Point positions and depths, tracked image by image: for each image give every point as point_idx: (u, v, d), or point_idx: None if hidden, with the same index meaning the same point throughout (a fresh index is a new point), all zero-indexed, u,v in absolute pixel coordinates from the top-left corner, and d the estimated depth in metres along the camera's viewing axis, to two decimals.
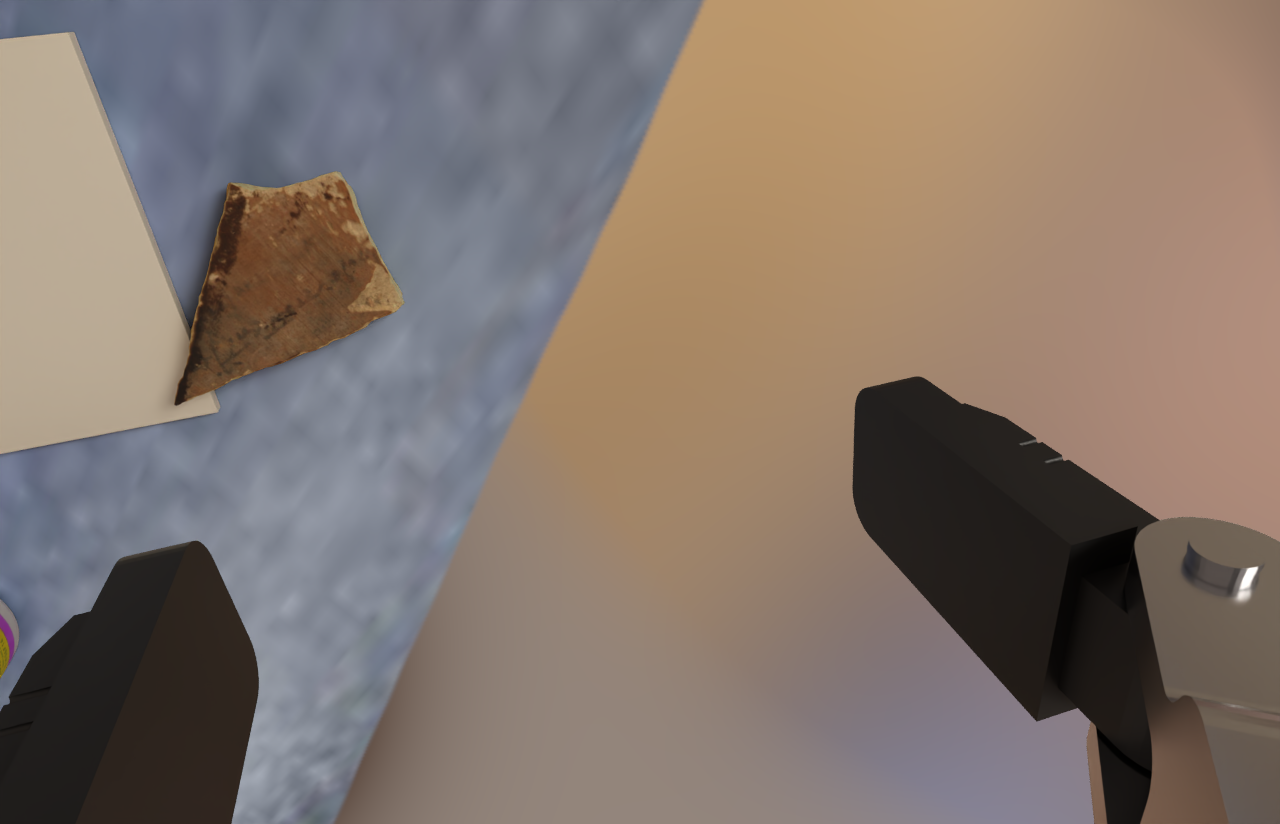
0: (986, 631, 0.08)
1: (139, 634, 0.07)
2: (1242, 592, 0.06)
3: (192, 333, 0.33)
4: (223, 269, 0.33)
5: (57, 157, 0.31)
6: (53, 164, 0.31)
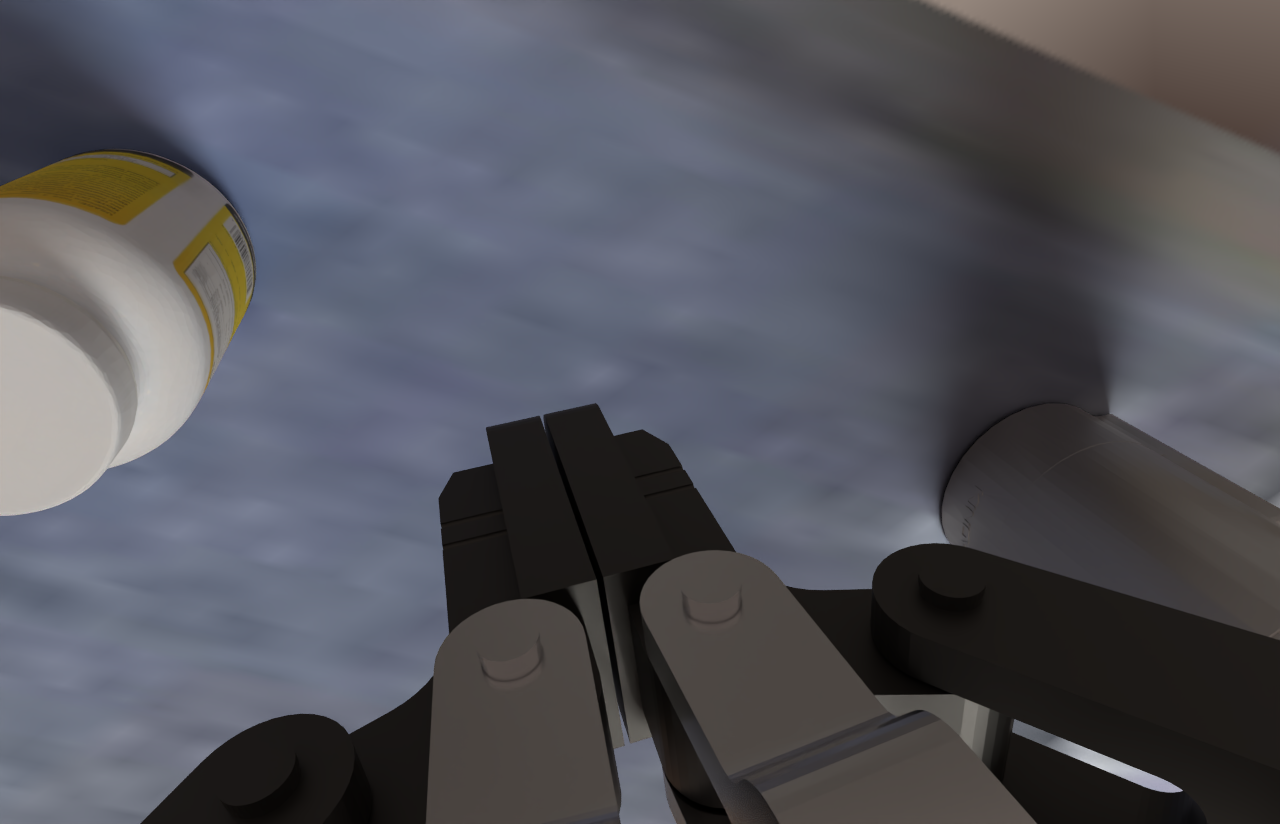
0: None
1: (547, 472, 0.09)
2: (705, 626, 0.06)
3: None
4: None
5: None
6: None
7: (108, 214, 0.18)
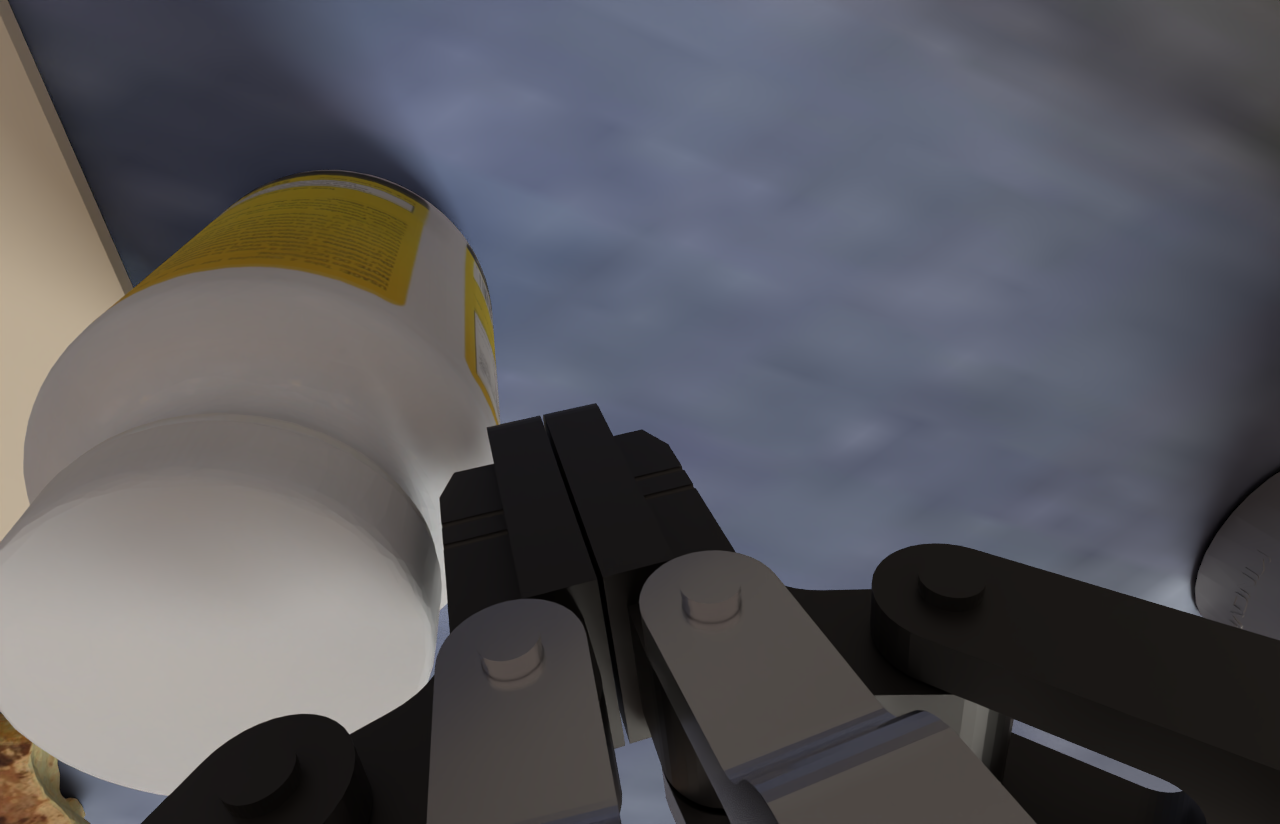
0: None
1: (548, 472, 0.09)
2: (704, 626, 0.06)
3: None
4: None
5: (15, 519, 0.18)
6: None
7: (380, 288, 0.11)
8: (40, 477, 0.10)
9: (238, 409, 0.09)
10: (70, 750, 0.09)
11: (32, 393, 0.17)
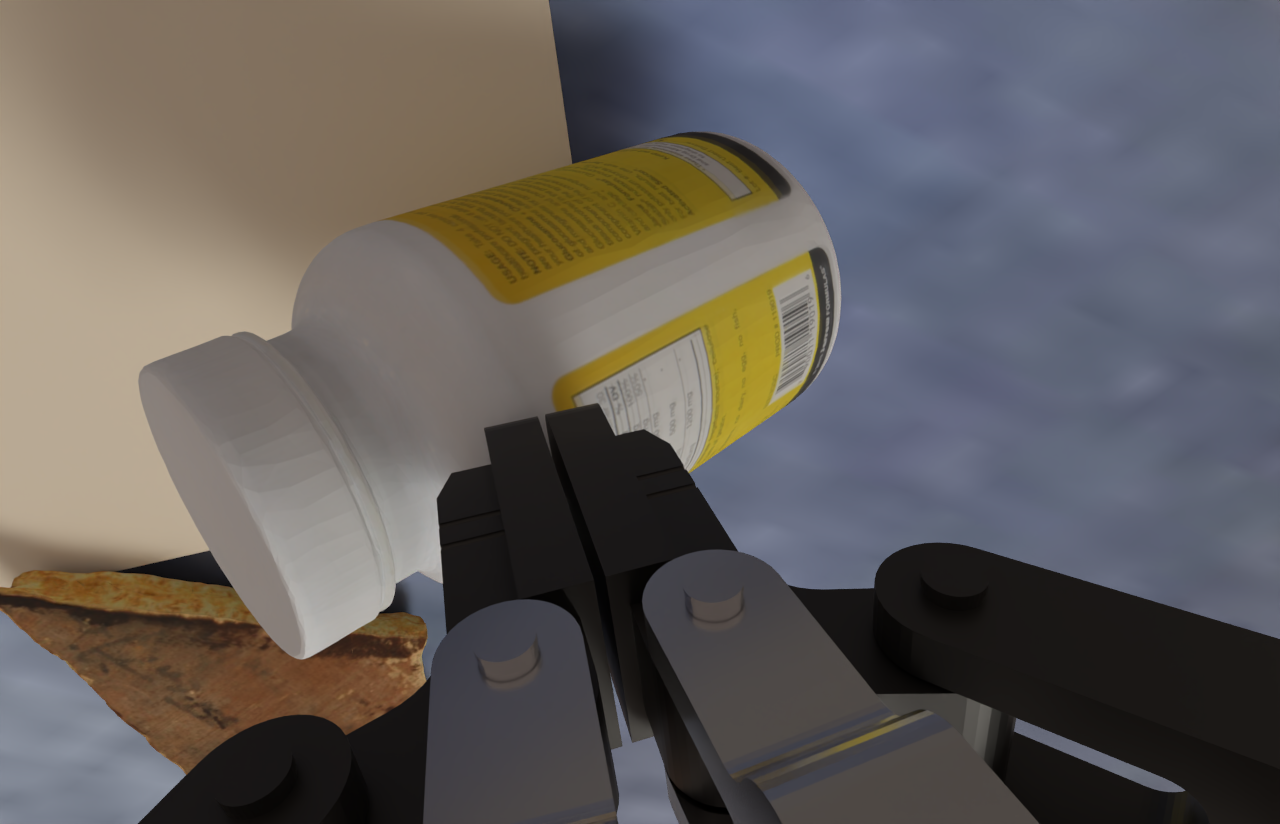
0: (608, 654, 0.09)
1: (545, 472, 0.09)
2: (708, 625, 0.06)
3: (156, 612, 0.19)
4: None
5: None
6: None
7: (506, 279, 0.11)
8: None
9: (315, 345, 0.11)
10: (195, 522, 0.13)
11: None
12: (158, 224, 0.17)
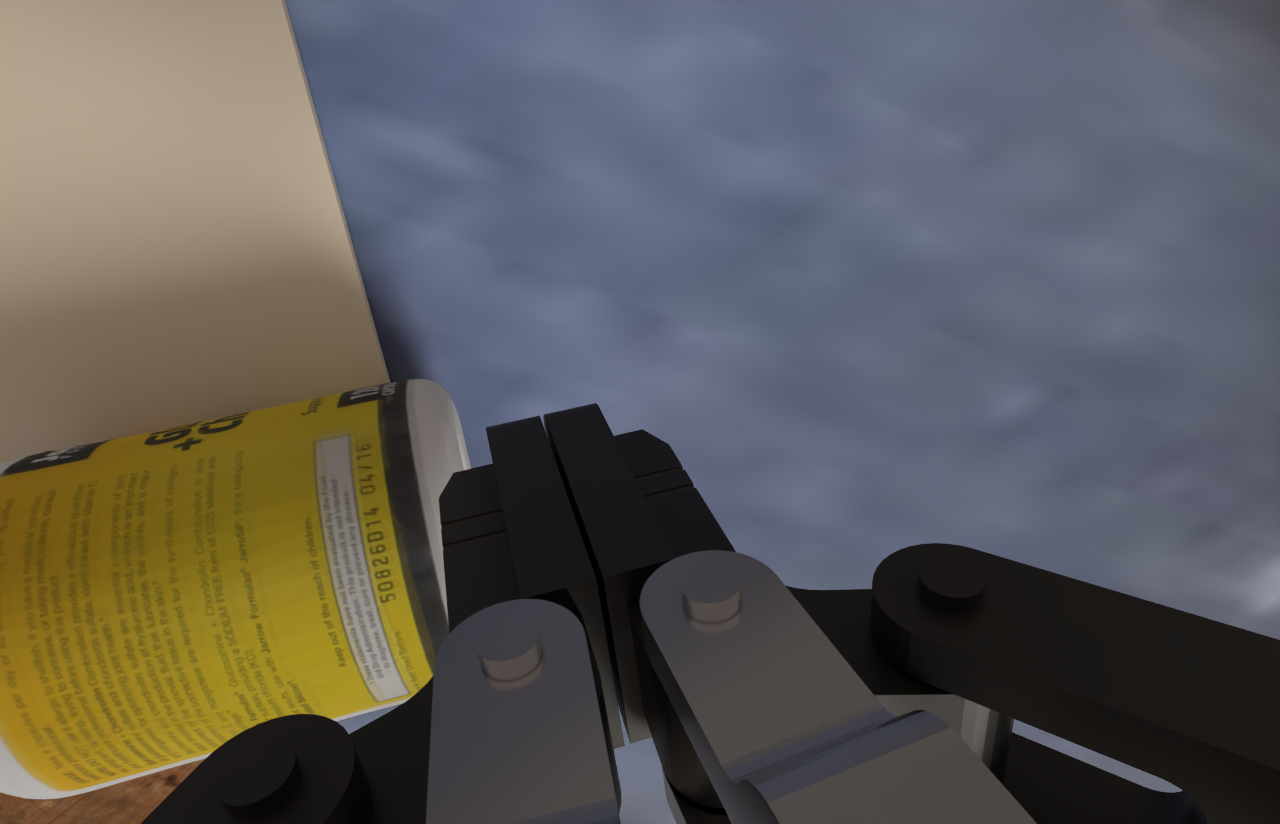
0: None
1: (548, 472, 0.09)
2: (705, 626, 0.06)
3: None
4: None
5: None
6: None
7: (79, 783, 0.13)
8: None
9: None
10: None
11: (246, 336, 0.17)
12: None
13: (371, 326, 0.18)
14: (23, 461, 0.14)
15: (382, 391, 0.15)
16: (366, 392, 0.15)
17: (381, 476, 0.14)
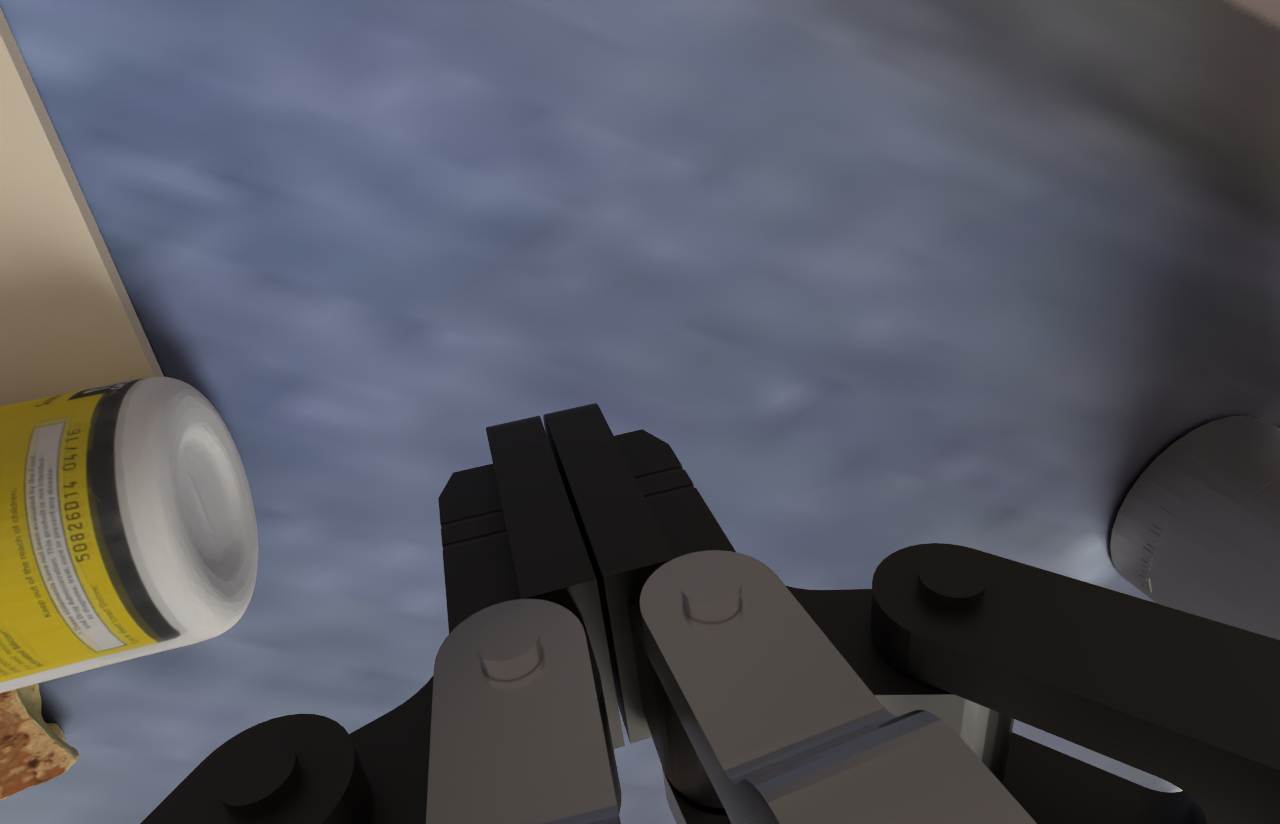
0: None
1: (547, 472, 0.09)
2: (706, 626, 0.06)
3: None
4: None
5: None
6: None
7: None
8: None
9: None
10: None
11: (17, 344, 0.19)
12: None
13: (134, 334, 0.20)
14: None
15: (113, 386, 0.18)
16: (101, 387, 0.18)
17: (82, 456, 0.16)
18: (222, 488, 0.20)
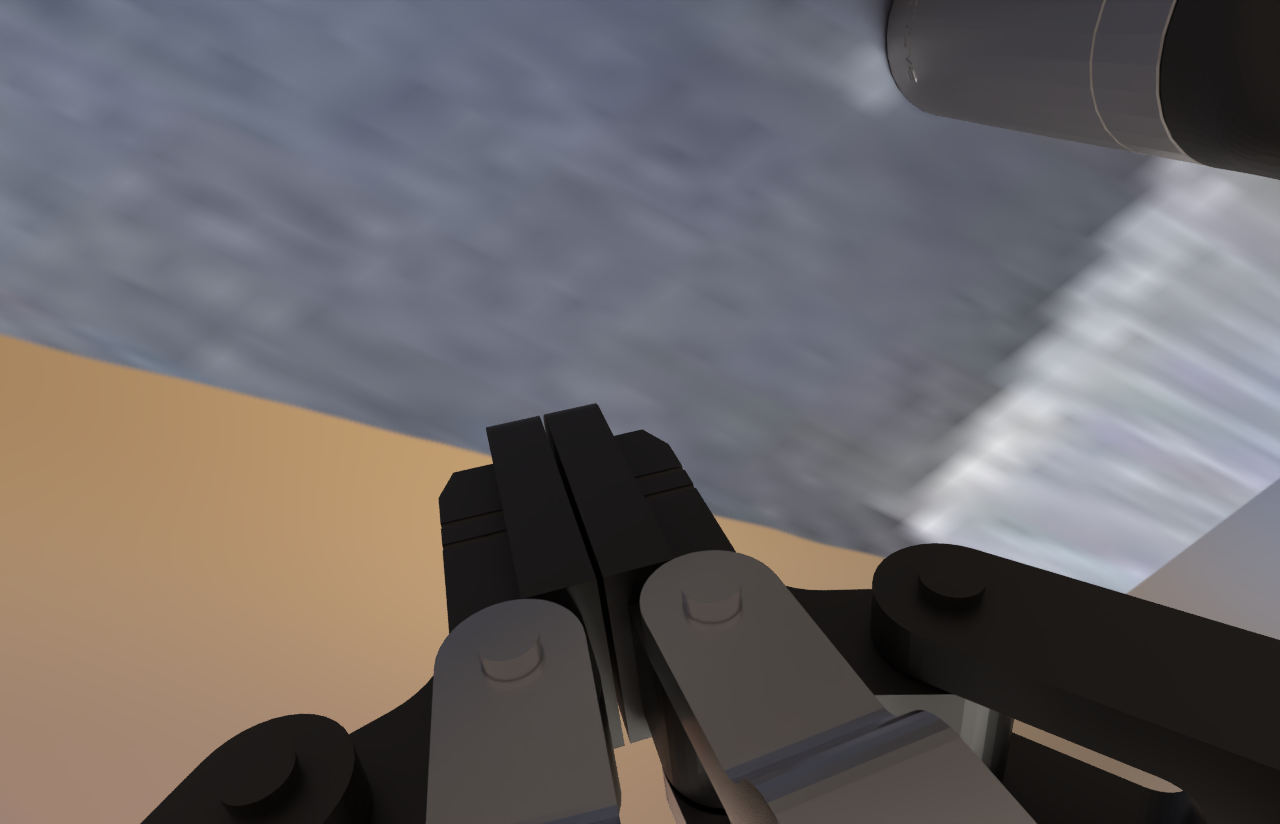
0: None
1: (547, 472, 0.09)
2: (705, 626, 0.06)
3: None
4: None
5: None
6: None
7: None
8: None
9: None
10: None
11: None
12: None
13: None
14: None
15: None
16: None
17: None
18: None
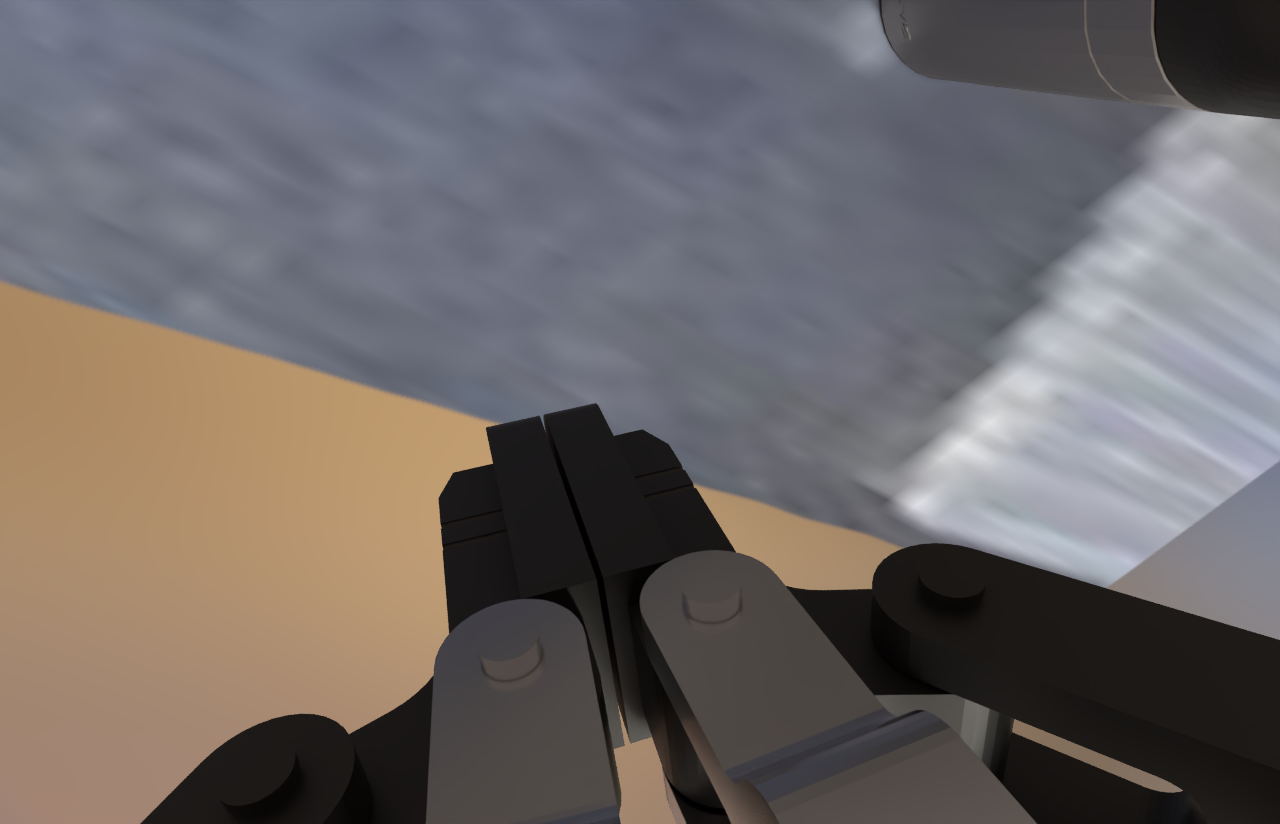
0: None
1: (547, 472, 0.09)
2: (705, 626, 0.06)
3: None
4: None
5: None
6: None
7: None
8: None
9: None
10: None
11: None
12: None
13: None
14: None
15: None
16: None
17: None
18: None
